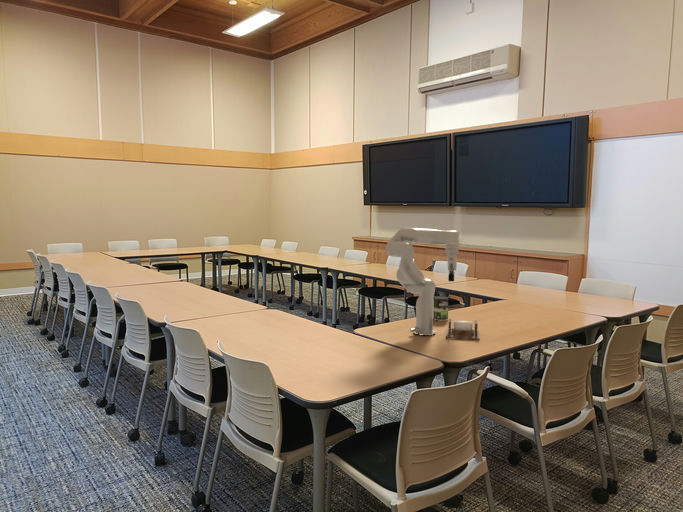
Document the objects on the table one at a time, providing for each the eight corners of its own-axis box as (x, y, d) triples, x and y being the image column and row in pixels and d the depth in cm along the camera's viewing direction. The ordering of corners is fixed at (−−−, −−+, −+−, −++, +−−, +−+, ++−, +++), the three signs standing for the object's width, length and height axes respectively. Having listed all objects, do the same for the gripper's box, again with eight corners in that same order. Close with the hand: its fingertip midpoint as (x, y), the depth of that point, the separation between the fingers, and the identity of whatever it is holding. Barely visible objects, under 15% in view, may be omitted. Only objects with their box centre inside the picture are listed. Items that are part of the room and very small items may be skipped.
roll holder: (445, 338, 262) (446, 324, 261) (446, 330, 277) (446, 317, 276) (479, 340, 258) (480, 325, 257) (478, 332, 273) (479, 318, 272)
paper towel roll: (453, 331, 266) (453, 322, 265) (453, 328, 271) (453, 319, 270) (472, 332, 263) (472, 323, 263) (472, 329, 269) (472, 320, 268)
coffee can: (451, 320, 303) (451, 298, 301) (437, 321, 299) (438, 299, 297) (442, 316, 312) (442, 295, 310) (428, 318, 308) (429, 296, 307)
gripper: (458, 253, 273) (457, 282, 275) (458, 250, 290) (457, 277, 292) (445, 252, 275) (444, 282, 277) (445, 249, 292) (445, 277, 294)
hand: (451, 279), depth 285 cm, fingers open, 9 cm apart
